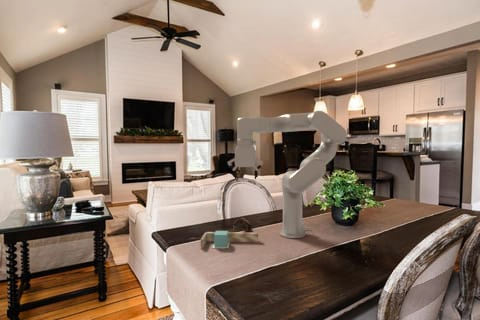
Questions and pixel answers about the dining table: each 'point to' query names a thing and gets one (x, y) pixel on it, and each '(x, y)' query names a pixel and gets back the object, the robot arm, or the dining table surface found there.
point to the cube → (221, 239)
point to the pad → (222, 247)
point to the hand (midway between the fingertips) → (245, 178)
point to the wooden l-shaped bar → (230, 237)
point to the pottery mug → (242, 225)
